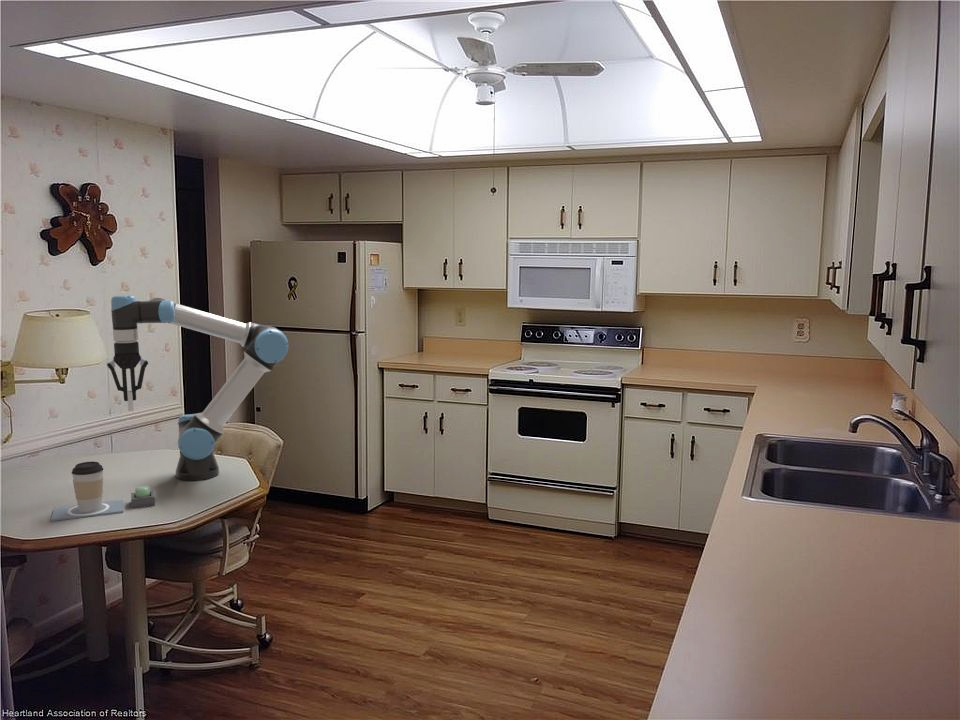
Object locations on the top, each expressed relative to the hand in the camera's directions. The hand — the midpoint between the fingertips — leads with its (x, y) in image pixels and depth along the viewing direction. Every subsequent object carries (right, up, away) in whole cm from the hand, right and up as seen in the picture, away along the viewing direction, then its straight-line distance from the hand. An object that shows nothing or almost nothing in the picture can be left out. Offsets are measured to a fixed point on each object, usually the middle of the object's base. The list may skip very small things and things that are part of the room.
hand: (130, 410), depth 256 cm
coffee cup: (-6, -31, -16) cm, 35 cm away
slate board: (-6, -31, -16) cm, 36 cm away
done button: (+8, -29, -9) cm, 31 cm away
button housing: (+8, -30, -8) cm, 33 cm away
